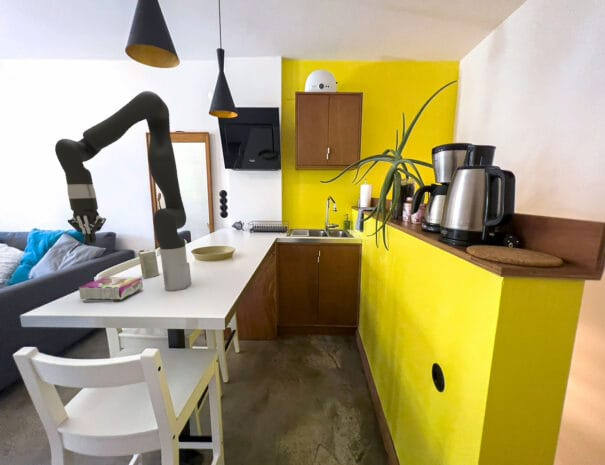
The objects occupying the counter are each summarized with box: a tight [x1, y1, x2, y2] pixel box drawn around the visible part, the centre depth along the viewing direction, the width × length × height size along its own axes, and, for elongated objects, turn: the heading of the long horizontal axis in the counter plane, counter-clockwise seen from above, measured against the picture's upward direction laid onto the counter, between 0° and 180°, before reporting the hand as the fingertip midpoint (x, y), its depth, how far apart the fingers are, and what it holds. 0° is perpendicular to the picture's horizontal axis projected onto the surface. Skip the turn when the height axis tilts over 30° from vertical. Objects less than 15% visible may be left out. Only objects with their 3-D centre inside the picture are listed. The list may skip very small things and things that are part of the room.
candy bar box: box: [78, 276, 144, 301], centre depth 92 cm, size 11×5×16 cm
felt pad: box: [82, 299, 117, 304], centre depth 94 cm, size 11×14×1 cm
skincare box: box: [138, 249, 160, 279], centre depth 113 cm, size 6×4×12 cm
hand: (91, 243), depth 91 cm, fingers closed
